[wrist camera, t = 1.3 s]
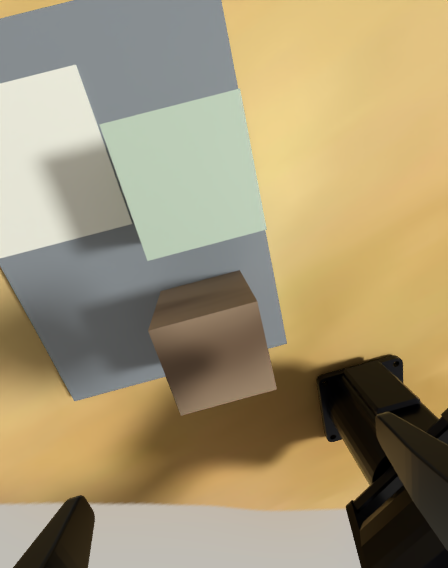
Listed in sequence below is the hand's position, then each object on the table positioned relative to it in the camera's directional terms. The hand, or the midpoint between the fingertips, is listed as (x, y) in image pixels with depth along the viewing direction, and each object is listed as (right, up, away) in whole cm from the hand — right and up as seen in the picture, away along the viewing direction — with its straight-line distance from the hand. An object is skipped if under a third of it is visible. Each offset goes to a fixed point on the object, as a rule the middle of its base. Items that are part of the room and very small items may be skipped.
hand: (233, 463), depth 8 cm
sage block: (-2, +11, +7) cm, 13 cm away
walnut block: (-1, +3, +10) cm, 10 cm away
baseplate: (-6, +9, +8) cm, 13 cm away
